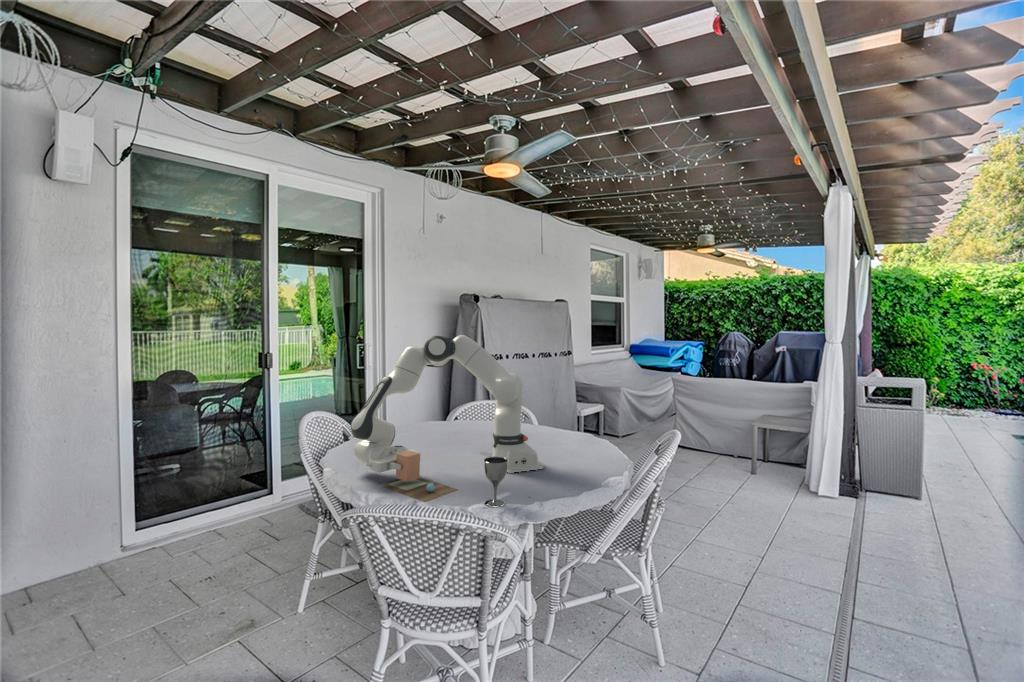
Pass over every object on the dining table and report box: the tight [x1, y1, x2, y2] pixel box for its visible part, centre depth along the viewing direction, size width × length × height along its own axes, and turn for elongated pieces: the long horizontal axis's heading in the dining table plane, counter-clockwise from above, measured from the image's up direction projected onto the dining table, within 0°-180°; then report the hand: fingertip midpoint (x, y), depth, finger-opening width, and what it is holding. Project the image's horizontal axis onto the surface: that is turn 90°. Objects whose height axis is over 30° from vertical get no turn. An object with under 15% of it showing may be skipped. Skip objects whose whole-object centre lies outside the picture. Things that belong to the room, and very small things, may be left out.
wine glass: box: [483, 456, 508, 506], centre depth 174 cm, size 8×8×15 cm
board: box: [380, 477, 459, 503], centre depth 186 cm, size 24×16×1 cm, turn 52°
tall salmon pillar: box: [395, 451, 421, 481], centre depth 189 cm, size 6×6×9 cm
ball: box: [426, 483, 435, 492], centre depth 182 cm, size 3×3×3 cm
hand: (409, 464), depth 189 cm, fingers closed on tall salmon pillar, 6 cm apart
